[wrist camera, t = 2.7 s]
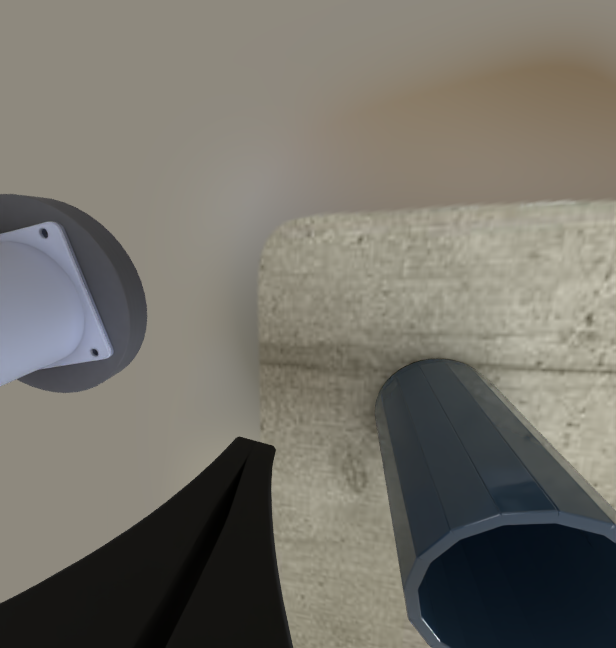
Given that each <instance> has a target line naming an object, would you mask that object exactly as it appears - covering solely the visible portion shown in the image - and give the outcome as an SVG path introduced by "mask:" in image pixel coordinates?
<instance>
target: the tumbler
mask: <svg viewBox="0 0 616 648" xmlns="http://www.w3.org/2000/svg"><path fill="white" fill-rule="evenodd" d="M375 418H376V424H377V431H378V437H379V443H380V449H381V455H382V462H383V468H384V474H385V480H386V486H387V493H388V499H389V505H390V511H391V517H392V524H393V530H394V536H395V542H396V548H397V555H398V561H399V567H400V573H401V579H402V586H403V592H404V598H405V604H406V610H407V616H408V619H409V621H410V622H411V623H412V625H413V626H414V627H415V628H416V630H417V631H418V632H419V634H420V635H421V636H422V637H423V639H424V640H425V641H426V642H427V644H428V645H429V646H430V647H432V648H616V510H615V509H614V508H613V507H612V506H611V505H610V504H609V503H608V502H607V501H606V500H605V499H604V498H603V497H602V496H601V495H600V494H599V493H598V492H597V491H596V490H595V489H594V488H593V487H592V486H591V485H590V484H589V483H588V482H587V481H586V480H585V479H584V477H583V476H582V475H581V474H580V473H579V472H578V471H577V470H576V469H575V468H574V467H573V466H572V465H571V464H570V463H569V462H568V461H567V460H566V459H565V458H564V457H563V456H562V455H561V454H560V453H559V452H558V451H557V450H556V449H555V448H554V447H553V446H552V445H551V443H550V442H549V441H548V440H547V439H546V438H545V437H544V436H543V435H542V434H541V433H540V432H539V431H538V430H537V429H536V428H535V427H534V426H533V425H532V424H531V423H530V422H529V421H528V420H527V419H526V418H525V417H524V416H523V415H522V414H521V413H520V412H519V410H518V409H517V408H516V407H515V406H514V405H513V404H512V403H511V402H510V401H509V400H508V399H507V398H506V397H505V396H504V395H503V394H502V393H501V392H500V391H499V390H498V389H497V388H496V387H495V386H494V385H493V384H492V383H491V382H490V381H489V380H488V379H487V378H485V377H484V376H483V375H482V374H481V373H479V372H478V371H477V370H476V369H474V368H472V367H470V366H469V365H466V364H464V363H461V362H458V361H454V360H449V359H428V360H422V361H418V362H415V363H412V364H410V365H408V366H405V367H404V368H402V369H400V370H399V371H397V372H396V373H395V374H394V375H392V376H391V377H390V378H389V379H388V380H387V382H386V383H385V384H384V385H383V387H382V389H381V390H380V392H379V395H378V397H377V400H376V405H375Z"/></svg>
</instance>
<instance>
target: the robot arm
mask: <svg viewBox="0 0 616 648" xmlns="http://www.w3.org/2000/svg"><path fill="white" fill-rule="evenodd" d="M46 230H47V232H48V236H47V234H46ZM96 350H97V351H98V353H97V352H96ZM113 352H114V350H113V347H112V344H111V342H110V339H109V337H108V335H107V332H106V330H105V327H104V325H103V322H102V320H101V317H100V315H99V312H98V310H97V307H96V305H95V302H94V300H93V298H92V295H91V293H90V290H89V288H88V285H87V283H86V280H85V278H84V275H83V273H82V270H81V268H80V266H79V263H78V261H77V258H76V256H75V253H74V251H73V248H72V246H71V243H70V241H69V238H68V236H67V233H66V231H65V229H64V227H63V226H62V225H61V224H60V223H58V222H45V223H41V224H37V225H33V226H29V227H26V228H22V229H18V230H14V231H10V232H7V233H3V234H0V386H2V385H4V384H7V383H9V382H11V381H13V380H16V379H18V378H20V377H22V376H25V375H27V374H29V373H31V372H34V371H36V370H38V369H45V368H51V367H57V366H64V365H70V364H76V363H82V362H89V361H95V360H101V359H106V358H108V357H110V356H112V355H113ZM275 451H276V449H275V447H274V446H272V445H268V444H265V443H261V442H257V441H253V440H250V439H246V438H243V437H237V438H236V439H235V440H234V441H233V442H232V443H231V444H230V445H229V446H228V447H227V448H226V449H225V450H224V451H223V452H222V453H221V455H220V456H218V457H217V458H216V459H215V461H213V462H212V463H211V464H210V465H209V466H208V467H207V468H206V469H205V470H204V471H203V472H201V473H200V474H199V475H198V476H197V477H196V478H195V479H194V480H192V481H191V482H190V483H189V484H188V485H186V486H185V487H184V488H183V489H182V490H181V491H179V492H178V493H177V494H175V495H174V496H173V497H172V498H171V499H169V500H168V501H167V502H166V503H164V504H163V505H162V506H160V507H159V508H158V509H156V510H155V511H154V512H152V513H151V514H150V515H148V516H147V517H145V518H144V519H143V520H141V521H140V522H138V523H137V524H135V525H134V526H133V527H131V528H130V529H128V530H127V531H125V532H124V533H122V534H121V535H119V536H118V537H116V538H114V539H113V540H111V541H110V542H108V543H107V544H105V545H104V546H102V547H100V548H99V549H97V550H96V551H94V552H92V553H91V554H89V555H87V556H86V557H84V558H83V559H81V560H79V561H77V562H76V563H74V564H72V565H71V566H68V567H67V568H65V569H63V570H62V571H60V572H58V573H56V574H54V575H53V576H51V577H49V578H47V579H46V580H44V581H42V582H41V583H39V584H37V585H35V586H33V587H31V588H29V589H28V590H26V591H24V592H22V593H20V594H18V595H16V596H14V597H13V598H10V599H8V600H7V601H5V602H2V603H0V648H293V645H292V640H291V635H290V630H289V626H288V621H287V616H286V611H285V607H284V602H283V597H282V591H281V585H280V579H279V573H278V566H277V559H276V552H275V543H274V533H273V521H272V499H271V480H272V466H273V460H274V456H275Z"/></svg>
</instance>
